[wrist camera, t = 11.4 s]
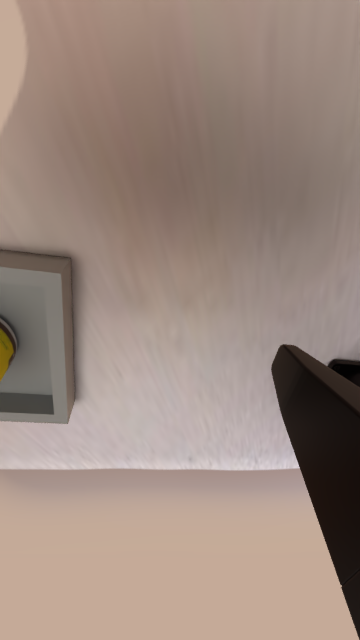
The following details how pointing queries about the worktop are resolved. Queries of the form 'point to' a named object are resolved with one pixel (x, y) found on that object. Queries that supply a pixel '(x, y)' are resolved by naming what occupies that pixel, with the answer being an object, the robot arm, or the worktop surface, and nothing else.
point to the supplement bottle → (6, 347)
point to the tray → (37, 338)
